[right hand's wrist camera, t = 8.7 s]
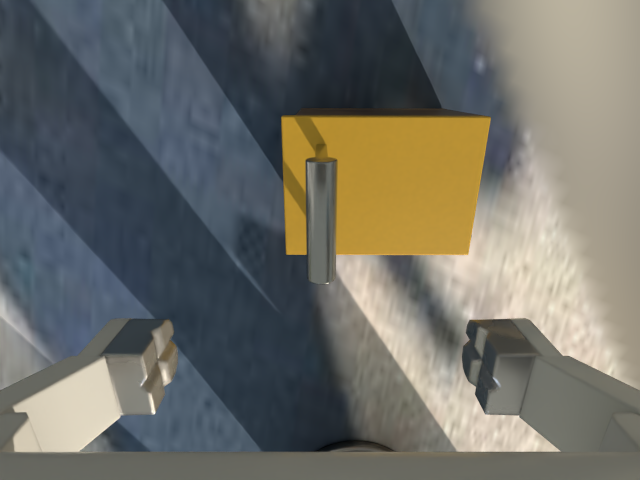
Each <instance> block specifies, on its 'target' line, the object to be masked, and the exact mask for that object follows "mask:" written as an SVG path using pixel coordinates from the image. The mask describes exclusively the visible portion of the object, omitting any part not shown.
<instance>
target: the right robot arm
mask: <svg viewBox="0 0 640 480" xmlns="http://www.w3.org/2000/svg"><path fill="white" fill-rule="evenodd" d="M173 334H174V329H173V325H172V322H171V321H170V320H169V319H131V318H123V319H112V320H110V321H109V322H108V323H107V324H106V325H105V326H104V327H103V328H102V330H101V331H100V332H99V333H98V334H97V335H96V336H95V337H94V338H93V339H92V340H91V342H90V343H89V344H88V345H87V346H86V347H85V348H84V349H83V350H82V351H81V352H80V353H79V355H78V356H70V357H68V358H66V359H64V360H62V361H60V362H58V363H56V364H54V365H52V366H50V367H48V368H46V369H43V370H41V371H39V372H37V373H35V374H33V375H31V376H29V377H27V378H25V379H23V380H21V381H19V382H17V383H15V384H13V385H11V386H9V387H6V388H4V389H2V390H0V480H640V390H637V389H635V388H633V387H631V386H629V385H627V384H625V383H623V382H621V381H619V380H617V379H615V378H613V377H611V376H609V375H607V374H605V373H603V372H601V371H598V370H596V369H594V368H592V367H590V366H588V365H586V364H584V363H582V362H580V361H578V360H576V359H574V358H572V357H570V356H562V355H561V353H560V352H559V351H558V350H557V349H556V348H555V347H554V346H553V345H552V344H551V343H550V341H549V340H548V339H547V338H546V337H545V336H544V335H543V334H542V333H541V332H540V331H539V329H538V328H537V327H536V326H535V325H534V324H533V323H532V322H531V321H530V320H528V319H526V318H517V319H489V320H469V322H468V324H467V329H466V334H467V336H468V337H469V339H470V340H469V341H468V342H467V343H466V344H465V345H464V346H463V353H462V362H463V369H464V372H465V375H466V377H467V379H468V381H469V382H470V383H472V384H473V385H474V386H476V391H475V395H476V397H477V399H478V401H479V403H480V405H481V407H482V409H483V411H484V413H485V414H490V415H520V418H521V419H523V420H524V421H525V422H526V423H527V424H529V425H530V426H531V427H532V428H533V429H535V430H536V431H537V432H538V433H540V434H541V435H542V436H543V437H544V438H546V439H547V440H548V441H549V442H550V443H552V444H553V445H554V446H555V447H556V448H558V449H559V450H560V451H561V452H79V451H80V450H81V449H82V448H84V447H85V446H86V445H87V444H89V443H90V442H91V441H92V440H93V439H95V438H96V437H97V436H98V435H99V434H101V433H102V432H103V431H104V430H105V429H107V428H108V427H109V426H110V425H112V424H113V423H114V422H115V421H116V420H118V419H119V418H120V415H149V414H155V413H156V411H157V409H158V407H159V405H160V403H161V401H162V399H163V397H164V395H165V391H164V386H166V385H167V384H168V383H170V382H171V381H172V379H173V377H174V375H175V373H176V368H177V364H178V352H177V346H176V345H175V344H174V343H173V342H172V341H171V340H170V339H171V337H172V336H173Z"/></svg>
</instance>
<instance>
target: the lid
mask: <svg viewBox="0 0 640 480" xmlns="http://www.w3.org/2000/svg"><path fill="white" fill-rule="evenodd" d="M490 119H491V117H488V116H360V115H283V116H282V117H281V126H282V154H283V183H284V211H285V239H286V254H307V279H308V280H309V281H310V282H312V283H315V284H328V283H331V282H333V281H334V280H335V277H336V255H468V252H469V246H470V240H471V234H472V228H473V222H474V216H475V210H476V204H477V198H478V192H479V186H480V180H481V173H482V167H483V161H484V155H485V149H486V143H487V137H488V131H489V125H490Z"/></svg>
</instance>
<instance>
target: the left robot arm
mask: <svg viewBox="0 0 640 480" xmlns="http://www.w3.org/2000/svg"><path fill="white" fill-rule="evenodd" d="M317 452H394V451H392V450H390V449H389V448H387V447H384V446H382V445H379V444H375V443H371V442H364V441H347V442H340V443H336V444H332V445H329V446H326V447H324V448H322V449H320V450H318V451H317Z"/></svg>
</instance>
